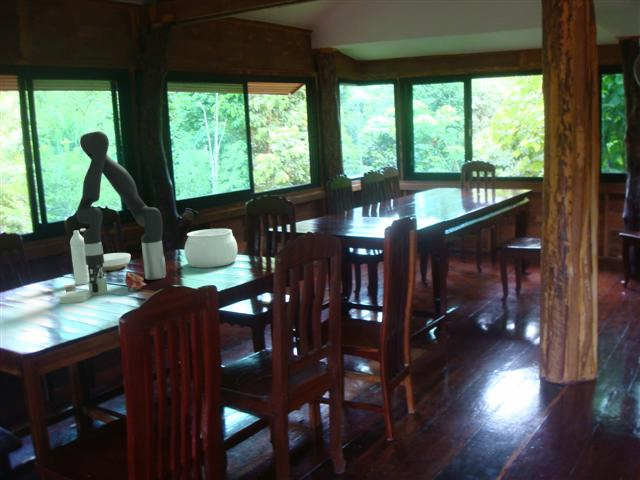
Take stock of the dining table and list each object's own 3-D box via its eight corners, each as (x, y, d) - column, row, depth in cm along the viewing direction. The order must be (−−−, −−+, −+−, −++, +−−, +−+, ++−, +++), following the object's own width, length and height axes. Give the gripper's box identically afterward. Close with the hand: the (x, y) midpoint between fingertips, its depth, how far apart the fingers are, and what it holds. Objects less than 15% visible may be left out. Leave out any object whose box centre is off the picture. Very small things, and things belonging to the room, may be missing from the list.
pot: (214, 256, 366) (211, 226, 363) (251, 259, 350) (248, 228, 347) (172, 267, 342) (169, 235, 339) (210, 271, 327) (207, 238, 324)
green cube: (107, 291, 299) (105, 277, 298) (104, 294, 293) (102, 280, 292) (93, 292, 299) (92, 278, 298) (89, 295, 293) (88, 281, 292)
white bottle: (82, 285, 314) (76, 231, 310) (72, 284, 317) (65, 231, 313) (96, 280, 322) (90, 228, 317) (86, 280, 324) (79, 228, 320)
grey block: (76, 293, 299) (75, 284, 298) (76, 295, 295) (75, 286, 295) (66, 294, 298) (65, 285, 297) (66, 296, 294) (65, 287, 293)
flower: (121, 290, 291) (131, 274, 290) (117, 282, 298) (126, 267, 298) (141, 299, 296) (151, 283, 296) (136, 290, 304) (145, 275, 303)
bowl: (139, 265, 354) (138, 253, 353) (110, 273, 338) (108, 261, 337) (114, 263, 364) (112, 252, 363) (84, 271, 348) (82, 259, 347)
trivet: (91, 295, 292) (90, 289, 292) (84, 301, 282) (84, 295, 282) (67, 297, 292) (67, 291, 291) (60, 303, 282) (59, 297, 281)
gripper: (98, 255, 286) (102, 293, 289) (107, 249, 300) (111, 285, 303) (80, 256, 286) (84, 294, 289) (89, 250, 300) (94, 286, 303)
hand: (98, 289), depth 296 cm, fingers open, 8 cm apart
